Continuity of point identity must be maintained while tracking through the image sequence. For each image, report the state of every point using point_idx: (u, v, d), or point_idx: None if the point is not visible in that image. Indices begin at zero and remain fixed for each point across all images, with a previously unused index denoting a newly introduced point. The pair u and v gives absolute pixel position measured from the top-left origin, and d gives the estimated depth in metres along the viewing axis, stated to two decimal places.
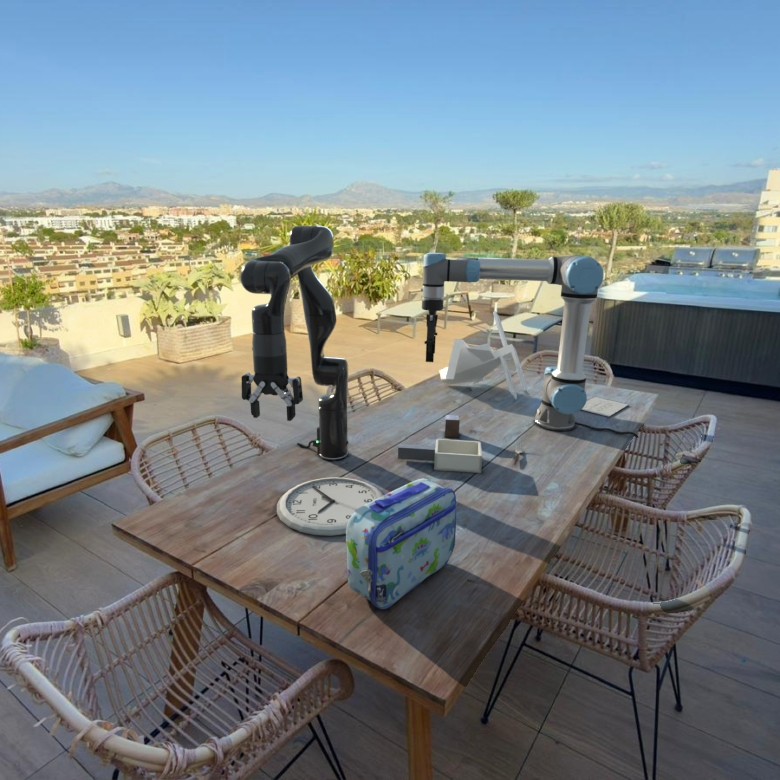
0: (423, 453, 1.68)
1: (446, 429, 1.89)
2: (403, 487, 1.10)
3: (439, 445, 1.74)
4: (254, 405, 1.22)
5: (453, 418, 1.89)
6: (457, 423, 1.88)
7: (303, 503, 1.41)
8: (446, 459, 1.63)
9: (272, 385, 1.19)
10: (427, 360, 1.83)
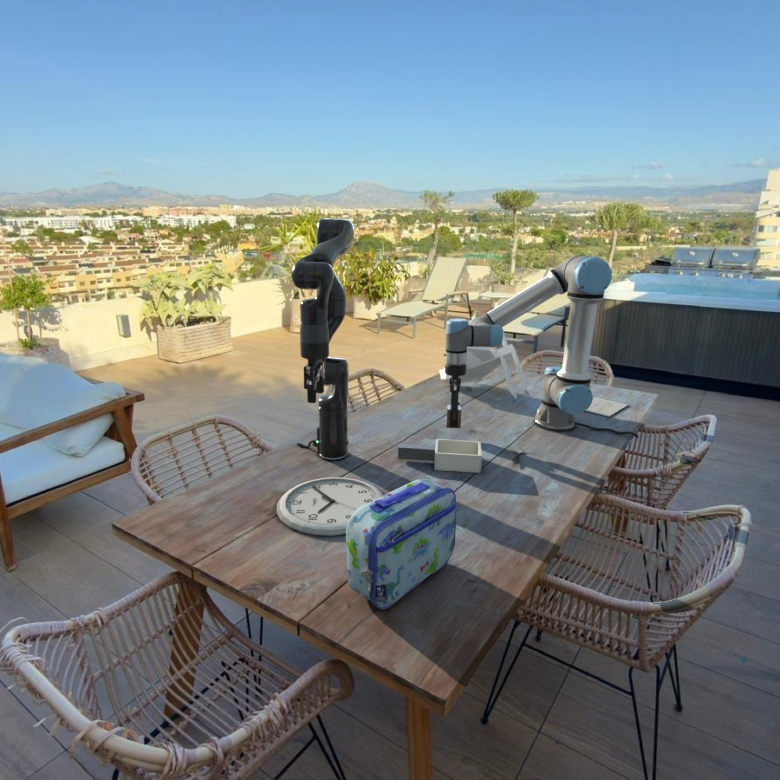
0: (423, 453, 1.68)
1: (448, 419, 1.88)
2: (403, 487, 1.10)
3: (439, 445, 1.74)
4: (315, 391, 1.38)
5: None
6: (459, 413, 1.87)
7: (303, 503, 1.41)
8: (446, 459, 1.63)
9: (323, 365, 1.41)
10: (451, 426, 1.88)
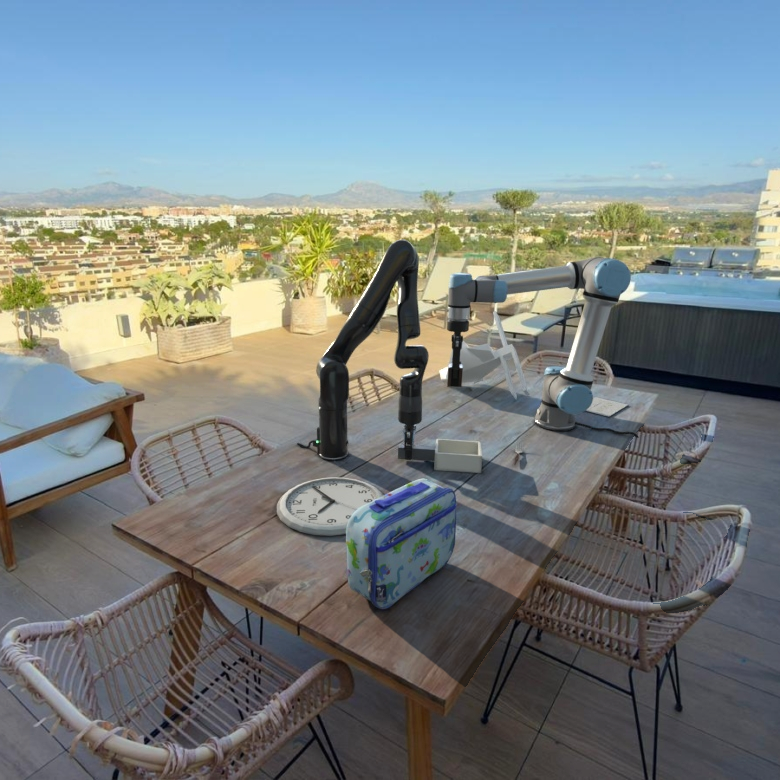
0: (423, 453, 1.68)
1: (449, 378, 1.84)
2: (403, 487, 1.10)
3: (439, 445, 1.74)
4: None
5: None
6: (460, 371, 1.82)
7: (303, 503, 1.41)
8: (446, 459, 1.63)
9: None
10: (452, 385, 1.83)
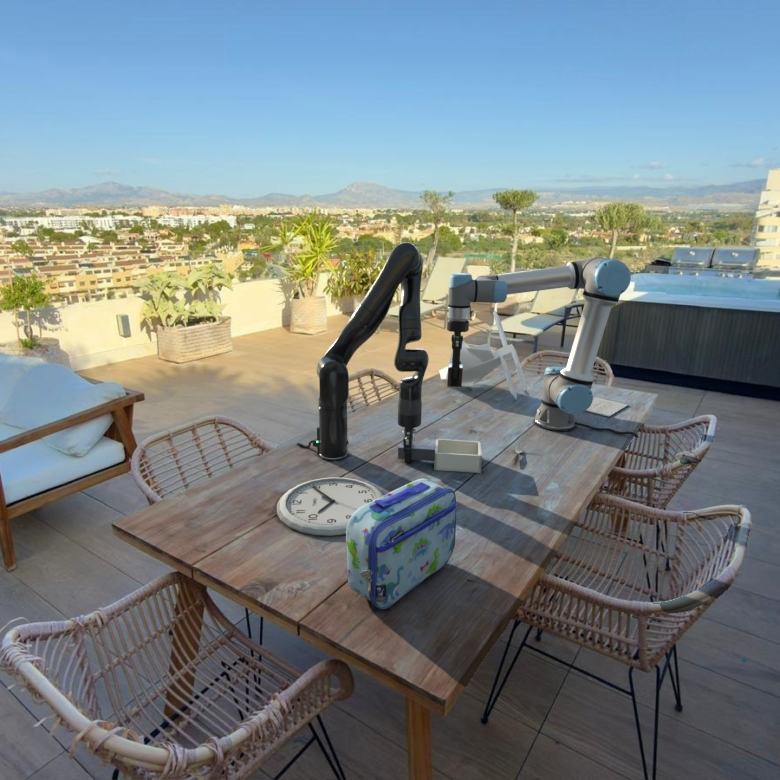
0: (423, 453, 1.68)
1: (449, 378, 1.84)
2: (403, 487, 1.10)
3: (439, 445, 1.74)
4: None
5: None
6: (460, 371, 1.82)
7: (303, 503, 1.41)
8: (446, 459, 1.63)
9: (415, 431, 1.69)
10: (452, 385, 1.83)
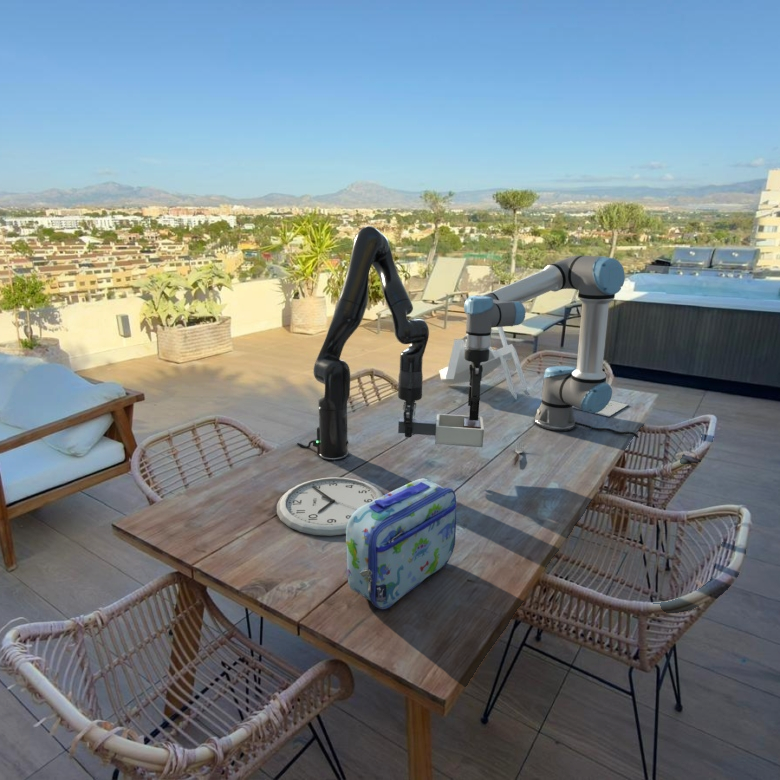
0: (423, 427, 1.66)
1: None
2: (403, 487, 1.10)
3: (440, 420, 1.71)
4: None
5: None
6: None
7: (303, 503, 1.41)
8: (447, 433, 1.61)
9: None
10: (471, 418, 1.60)
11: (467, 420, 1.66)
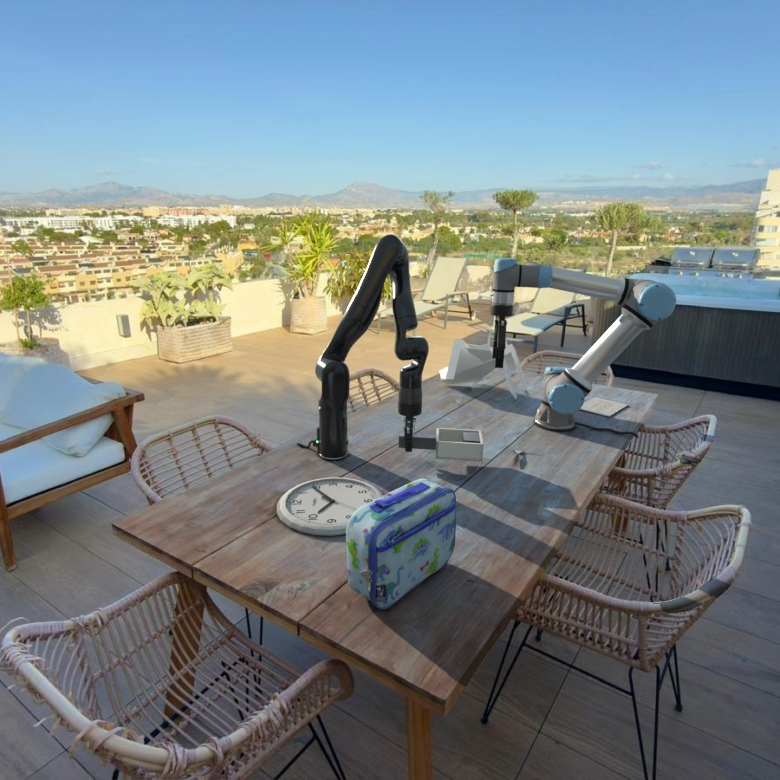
0: (423, 441, 1.68)
1: None
2: (403, 487, 1.10)
3: (440, 434, 1.74)
4: None
5: None
6: None
7: (303, 503, 1.41)
8: (447, 448, 1.63)
9: (415, 420, 1.69)
10: (497, 366, 1.82)
11: (466, 434, 1.69)
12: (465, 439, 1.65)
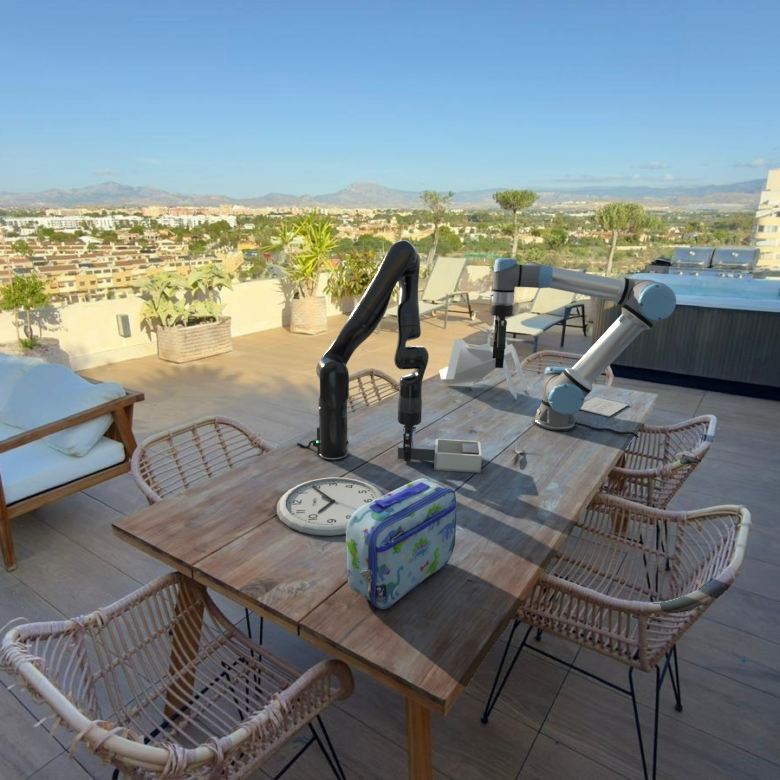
0: (422, 453, 1.68)
1: None
2: (403, 487, 1.10)
3: (439, 445, 1.74)
4: None
5: None
6: None
7: (303, 503, 1.41)
8: (446, 459, 1.63)
9: (415, 429, 1.69)
10: (497, 366, 1.82)
11: (465, 445, 1.69)
12: (464, 450, 1.65)
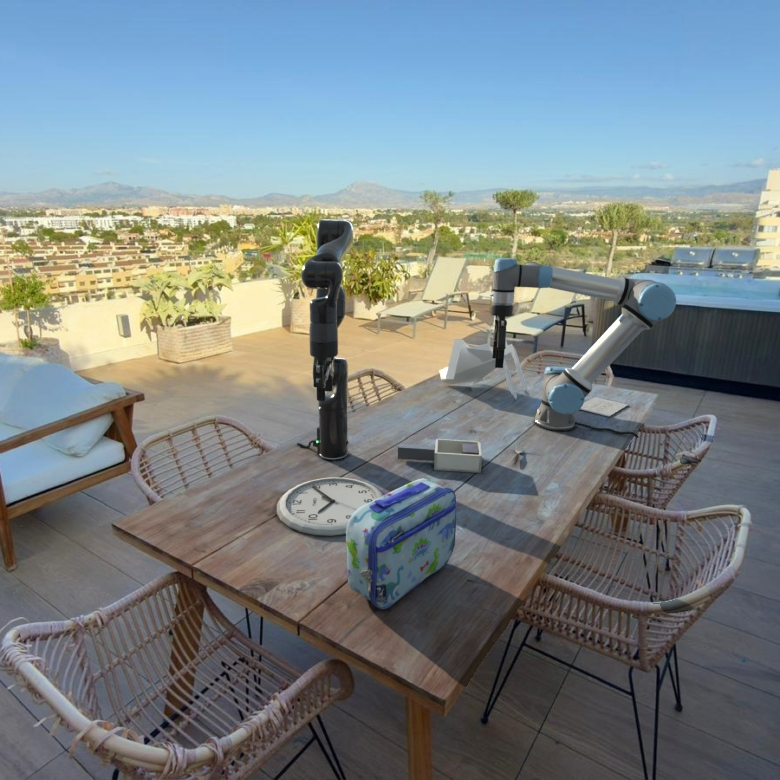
0: (422, 453, 1.68)
1: None
2: (403, 487, 1.10)
3: (439, 445, 1.74)
4: (324, 389, 1.39)
5: None
6: None
7: (303, 503, 1.41)
8: (446, 459, 1.63)
9: (332, 364, 1.43)
10: (497, 366, 1.82)
11: (465, 445, 1.69)
12: (464, 450, 1.65)
